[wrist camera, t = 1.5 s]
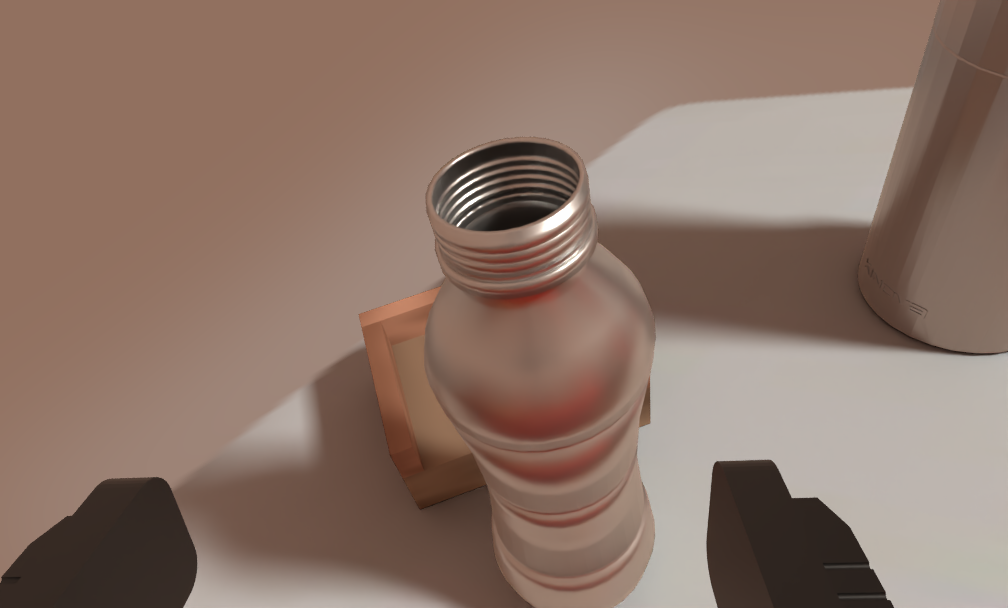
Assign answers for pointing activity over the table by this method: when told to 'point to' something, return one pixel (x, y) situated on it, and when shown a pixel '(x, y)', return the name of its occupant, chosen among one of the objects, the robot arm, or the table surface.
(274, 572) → the table surface
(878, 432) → the table surface
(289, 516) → the table surface
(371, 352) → the dock
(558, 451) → the plastic bottle
